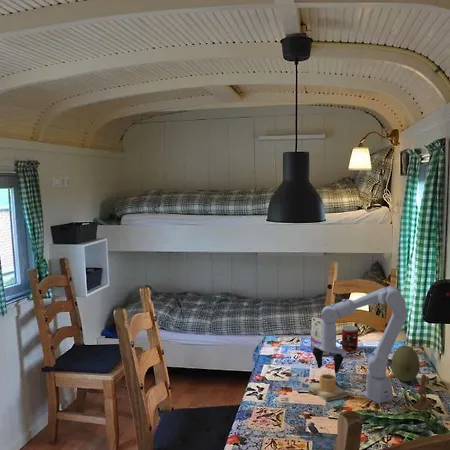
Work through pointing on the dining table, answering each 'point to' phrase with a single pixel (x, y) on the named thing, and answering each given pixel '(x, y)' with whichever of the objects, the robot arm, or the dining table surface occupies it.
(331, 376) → the collar
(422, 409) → the brown figurine
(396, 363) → the fruit
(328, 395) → the base block
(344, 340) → the canned food
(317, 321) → the candy bar box
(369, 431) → the dining table surface
